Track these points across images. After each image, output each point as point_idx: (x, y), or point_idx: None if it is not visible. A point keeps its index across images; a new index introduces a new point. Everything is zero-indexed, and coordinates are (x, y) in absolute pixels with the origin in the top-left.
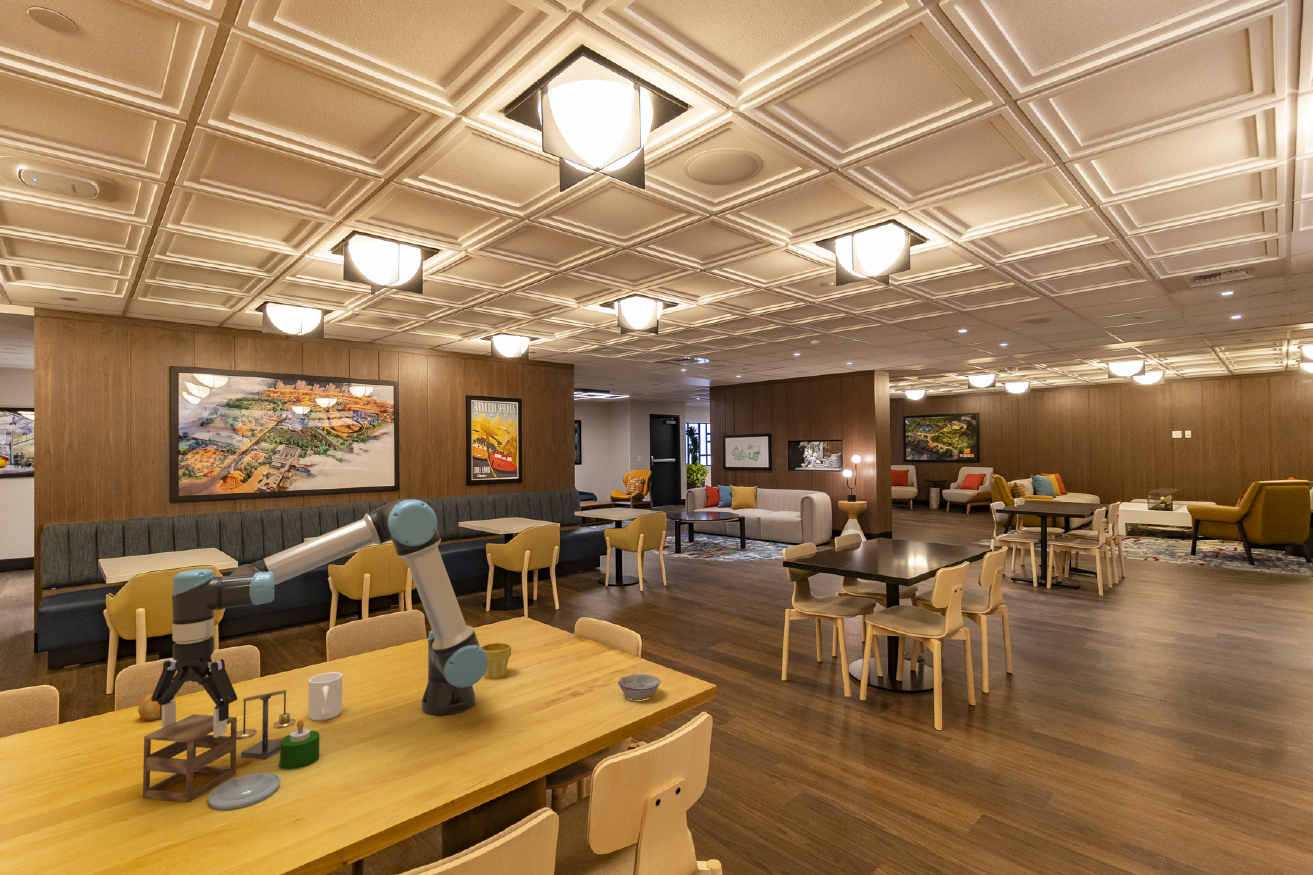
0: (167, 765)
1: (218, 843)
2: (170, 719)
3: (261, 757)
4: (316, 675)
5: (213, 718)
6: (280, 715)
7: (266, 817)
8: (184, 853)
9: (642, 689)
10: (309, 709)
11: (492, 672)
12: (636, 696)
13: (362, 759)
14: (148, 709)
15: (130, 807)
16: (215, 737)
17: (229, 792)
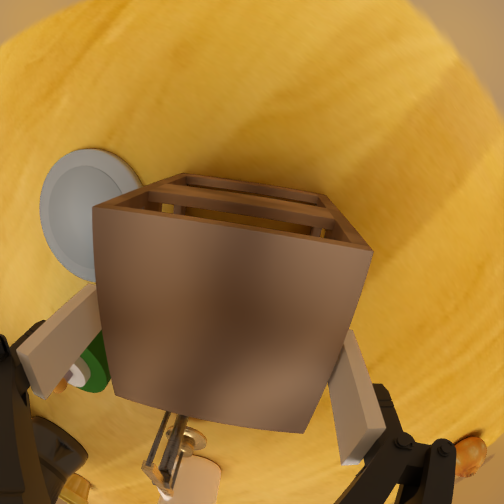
0: (237, 197)
1: (38, 63)
2: (339, 385)
3: None
4: None
5: (56, 325)
6: (188, 451)
7: (16, 142)
8: (68, 27)
9: None
10: (206, 472)
11: (71, 478)
12: None
13: (21, 323)
14: (473, 447)
15: (318, 147)
16: (92, 284)
17: (97, 195)
